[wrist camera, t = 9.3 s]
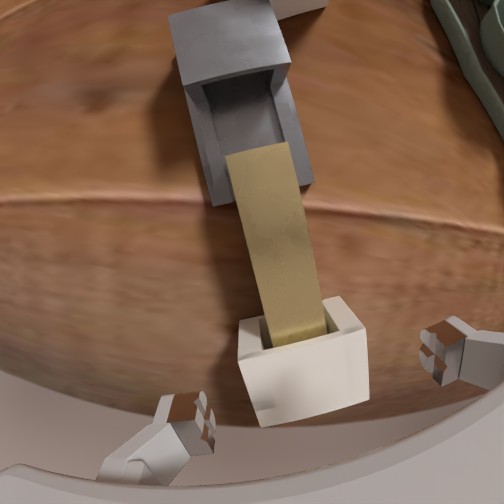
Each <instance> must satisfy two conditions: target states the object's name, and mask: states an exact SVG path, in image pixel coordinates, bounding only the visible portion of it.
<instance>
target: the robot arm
mask: <svg viewBox="0 0 504 504" xmlns="http://www.w3.org/2000/svg"><path fill="white" fill-rule="evenodd" d="M420 340H421V341H422V342H423V344H422V346H421V348H420V360H421V364H422V365H423V367H424V368H425V370H426V371H428V372H432V373H433V378H434V380H435V381H436V382H437V383H438V384H439V385H440V386H441V387H442V386H444V385H446V384H448V383H450V382H452V381H454V380H456V379H458V378H459V379H460V380H463V381H466V382H468V383H471V384H474V385H477V386H480V387H482V388H485V389H488V390H490V391H488V392H487V393H485V394H484V395H482V396H481V397H479V398H478V399H476V400H475V401H473V402H471V403H470V404H468V405H467V406H465V407H463V408H461V409H460V410H458V411H456V412H455V413H453V414H451V415H449V416H447V417H445V418H444V419H442V420H440V421H438V422H436V423H434V424H432V425H430V426H428V427H426V428H424V429H422V430H420V431H418V432H416V433H413V434H411V435H409V436H407V437H404V438H402V439H400V440H398V441H395V442H393V443H390V444H388V445H385V446H383V447H381V448H378V449H375V450H372V451H369V452H367V453H364V454H361V455H358V456H355V457H352V458H349V459H346V460H343V461H340V462H336V463H333V464H329V465H326V466H322V467H318V468H314V469H310V470H306V471H302V472H298V473H293V474H288V475H283V476H278V477H272V478H266V479H260V480H253V481H246V482H237V483H228V484H217V485H200V486H168V485H169V484H170V483H171V482H172V480H173V479H174V478H175V477H176V475H177V474H178V473H179V472H180V471H181V469H182V468H183V467H184V466H185V464H186V463H187V462H188V460H189V459H190V458H191V456H197V455H207V454H213V453H214V444H215V440H214V438H213V436H212V435H213V434H214V433H215V431H216V423H215V417H214V414H213V411H212V409H211V408H210V407H209V406H207V405H206V404H207V398H206V396H205V394H204V392H202V391H196V392H188V393H179V394H170V395H163V396H162V397H161V399H160V401H159V404H158V407H157V410H156V413H155V416H154V419H153V422H152V424H148V425H147V426H146V427H144V428H143V429H142V430H141V431H139V432H138V433H137V434H136V435H134V436H133V437H132V438H131V439H129V440H128V441H127V442H126V443H124V444H123V445H122V446H120V447H119V448H118V449H116V450H115V451H114V452H112V453H111V454H110V455H109V456H107V457H106V458H105V459H104V462H103V464H102V466H101V469H100V471H99V474H98V476H97V478H96V480H89V479H83V478H77V477H72V476H68V475H62V474H58V473H54V472H50V471H46V470H42V469H39V468H35V467H32V466H28V465H25V464H16V465H13V466H10V467H8V468H6V469H4V470H2V471H0V504H504V333H499V332H491V331H483V330H480V331H476V330H475V329H473V328H472V327H470V326H469V325H467V324H466V323H465V322H463V321H462V320H460V319H459V318H457V317H456V316H451V317H448V318H446V319H444V320H442V321H441V322H439V323H437V324H435V325H432V326H430V327H428V328H425V329H423V330H422V331H421V334H420Z"/></svg>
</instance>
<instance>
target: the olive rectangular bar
mask: <svg viewBox="0 0 504 504" xmlns="http://www.w3.org/2000/svg"><path fill="white" fill-rule="evenodd" d="M225 159H226V163H227V167H228V171H229V175H230V179H231V183H232V187H233V191H234V194H235V198H236V202H237V206H238V210H239V214H240V218H241V222H242V226H243V230H244V234H245V238H246V242H247V246H248V250H249V254H250V258H251V262H252V266H253V270H254V274H255V278H256V282H257V286H258V289H259V293H260V297H261V301H262V305H263V309H264V313H265V317H266V321H267V325H268V329H269V333H270V337H271V341H272V344H273V348H276V347H280V346H284V345H288V344H292V343H296V342H300V341H304V340H308V339H312V338H316V337H319V336H323V335H327V329H326V323H325V316H324V310H323V304H322V299H321V293H320V287H319V282H318V276H317V271H316V266H315V260H314V255H313V250H312V245H311V240H310V235H309V230H308V226H307V221H306V216H305V212H304V207H303V203H302V198H301V194H300V190H299V185H298V181H297V177H296V173H295V168H294V164H293V160H292V156H291V152H290V148H289V144H288V142H283V143H278V144H273V145H269V146H264V147H260V148H255V149H251V150H247V151H242V152H238V153H234V154H230V155H226V156H225Z"/></svg>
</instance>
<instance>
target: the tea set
mask: <svg viewBox="0 0 504 504" xmlns="http://www.w3.org/2000/svg"><path fill="white" fill-rule="evenodd" d="M430 2H431V6H432V8H433V10H434V12H435V13H436V15H437V17H438V19H439V21H440V23H441V25H442V27H443V29H444V31H445V33H446V35H447V37H448V39H449V41H450V43H451V46H452V48H453V50H454V52H455V55H456V57H457V59H458V62H459V64H460V67H461V69H462V72H463V75H464V77H465V78H466V80H467V81H468V82H469V84H470V85H471V87H472V88H473V90H474V91H475V93H476V94H477V96H478V98H479V99H480V101H481V102H482V104H483V106H484V107H485V109H486V110H487V112H488V114H489V116H490V117H491V119H492V121H493V123H494V124H495V126H496V128H497V130H498V132H499V134H500V136H501V137H502V139H503V141H504V0H430Z"/></svg>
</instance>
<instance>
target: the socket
mask: <svg viewBox="0 0 504 504" xmlns="http://www.w3.org/2000/svg"><path fill="white" fill-rule="evenodd" d="M322 304H323V310H324V316H325V323H326V329H327V335H323V336H319V337H316V338H312V339H308V340H304V341H300V342H296V343H292V344H288V345H284V346H280V347H276V348H273V344H272V341H271V337H270V333H269V329H268V325H267V321H266V317H265V315H261V316H257V317H253V318H248V319H244V320H239V339H238V364H239V367H240V370H241V373H242V376H243V379H244V382H245V385H246V388H247V390H248V393H249V396H250V399H251V402H252V405H253V408H254V410H255V413H256V416H257V419H258V422H259V424H260V427H267V426H272V425H277V424H282V423H287V422H291V421H296V420H300V419H304V418H308V417H312V416H316V415H320V414H323V413H327V412H331V411H334V410H338V409H341V408H344V407H347V406H351V405H354V404H357V403H360V402H363V401H366V400H369V374H368V355H367V340H366V328H365V327H364V326H363V324H362V323H361V322H360V321H359V319H358V318H357V317H356V316H355V315H354V313H353V312H352V311H351V310H350V308H349V307H348V306H347V305H346V303H345V302H344V301H343V300H342V299H341V297H340V296H336V297H332V298H329V299H325V300H322Z"/></svg>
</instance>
